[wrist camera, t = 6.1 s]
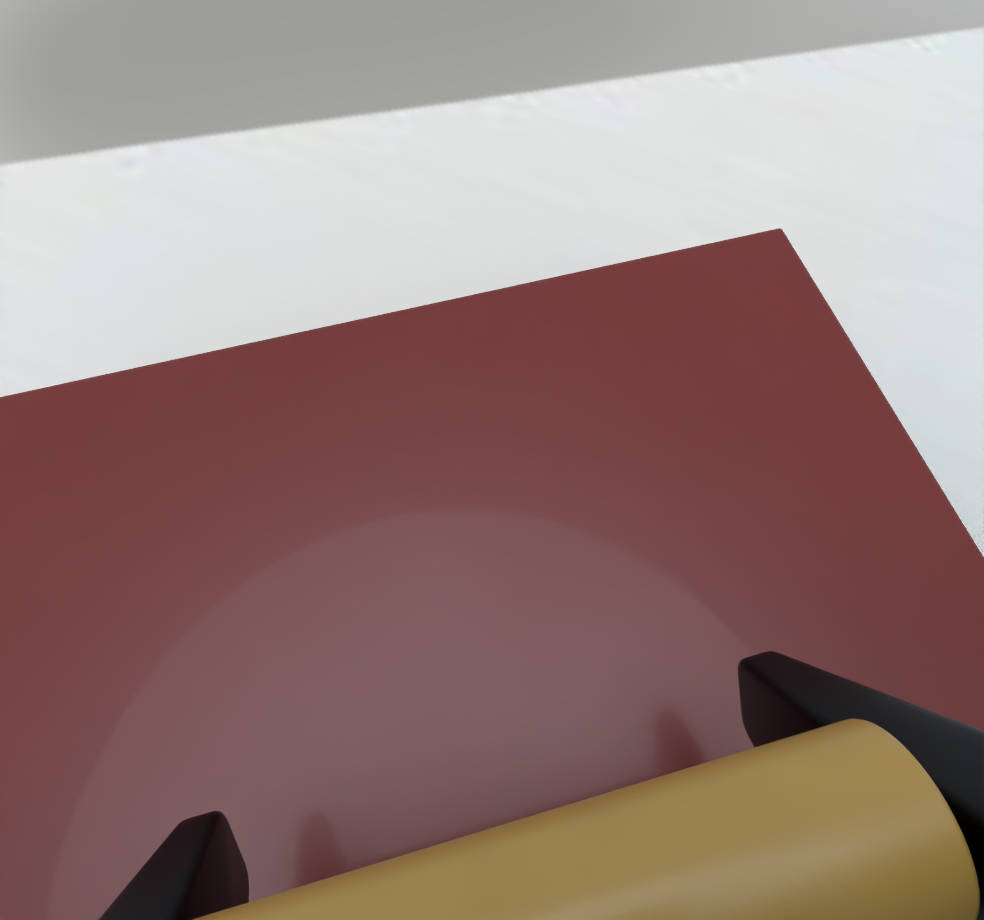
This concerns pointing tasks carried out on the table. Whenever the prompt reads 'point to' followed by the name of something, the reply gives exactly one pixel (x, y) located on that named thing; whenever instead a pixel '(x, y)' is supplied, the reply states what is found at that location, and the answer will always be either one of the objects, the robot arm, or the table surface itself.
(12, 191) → the table surface
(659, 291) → the cover
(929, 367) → the table surface
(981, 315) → the table surface
